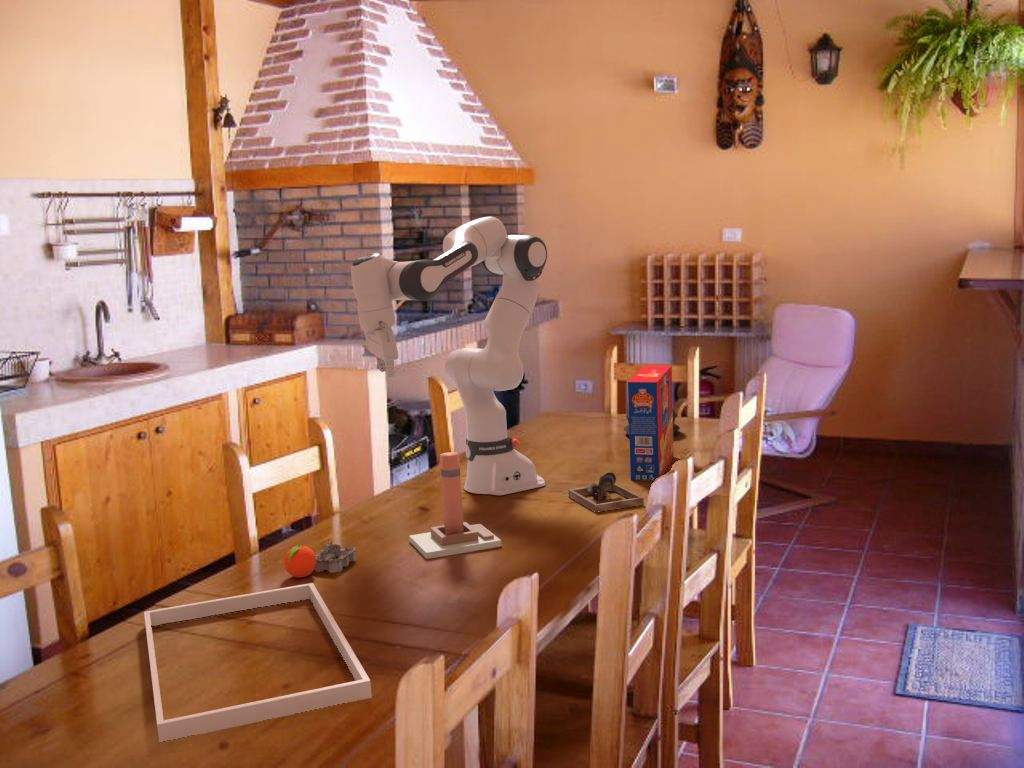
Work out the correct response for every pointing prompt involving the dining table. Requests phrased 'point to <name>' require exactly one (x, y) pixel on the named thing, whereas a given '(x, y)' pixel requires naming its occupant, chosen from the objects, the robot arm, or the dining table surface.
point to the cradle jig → (454, 541)
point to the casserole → (675, 427)
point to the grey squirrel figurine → (602, 485)
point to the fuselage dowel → (451, 493)
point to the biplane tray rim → (261, 708)
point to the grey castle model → (334, 558)
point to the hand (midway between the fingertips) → (387, 373)
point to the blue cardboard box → (650, 422)
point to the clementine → (300, 561)
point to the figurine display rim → (630, 502)
